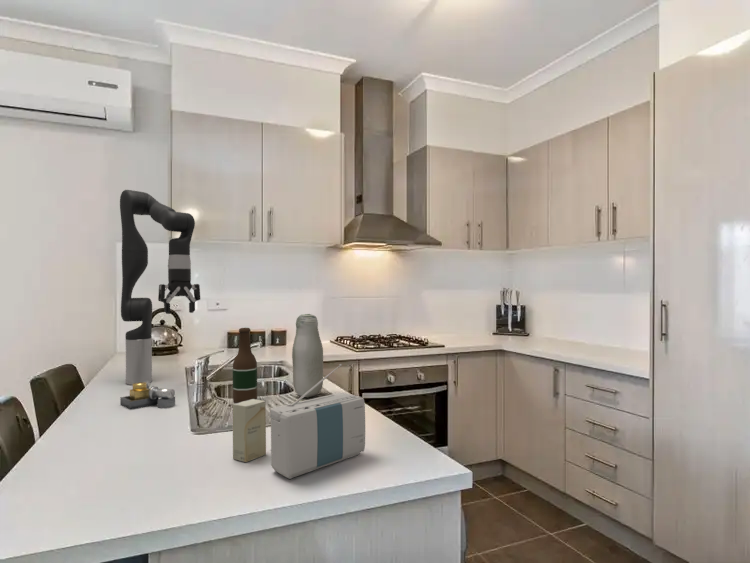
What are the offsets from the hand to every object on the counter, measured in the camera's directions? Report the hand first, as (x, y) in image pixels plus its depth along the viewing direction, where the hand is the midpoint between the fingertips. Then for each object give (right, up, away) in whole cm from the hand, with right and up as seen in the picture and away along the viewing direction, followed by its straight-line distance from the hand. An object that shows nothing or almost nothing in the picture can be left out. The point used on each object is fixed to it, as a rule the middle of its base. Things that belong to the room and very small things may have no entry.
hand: (179, 313), depth 172 cm
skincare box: (+42, -28, -65) cm, 82 cm away
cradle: (-6, -28, -18) cm, 34 cm away
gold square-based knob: (-6, -27, -18) cm, 33 cm away
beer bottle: (+27, -28, -15) cm, 42 cm away
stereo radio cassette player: (+58, -28, -69) cm, 94 cm away
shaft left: (-8, -28, -10) cm, 31 cm away
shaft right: (+3, -28, -20) cm, 34 cm away
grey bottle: (+47, -28, -9) cm, 55 cm away
